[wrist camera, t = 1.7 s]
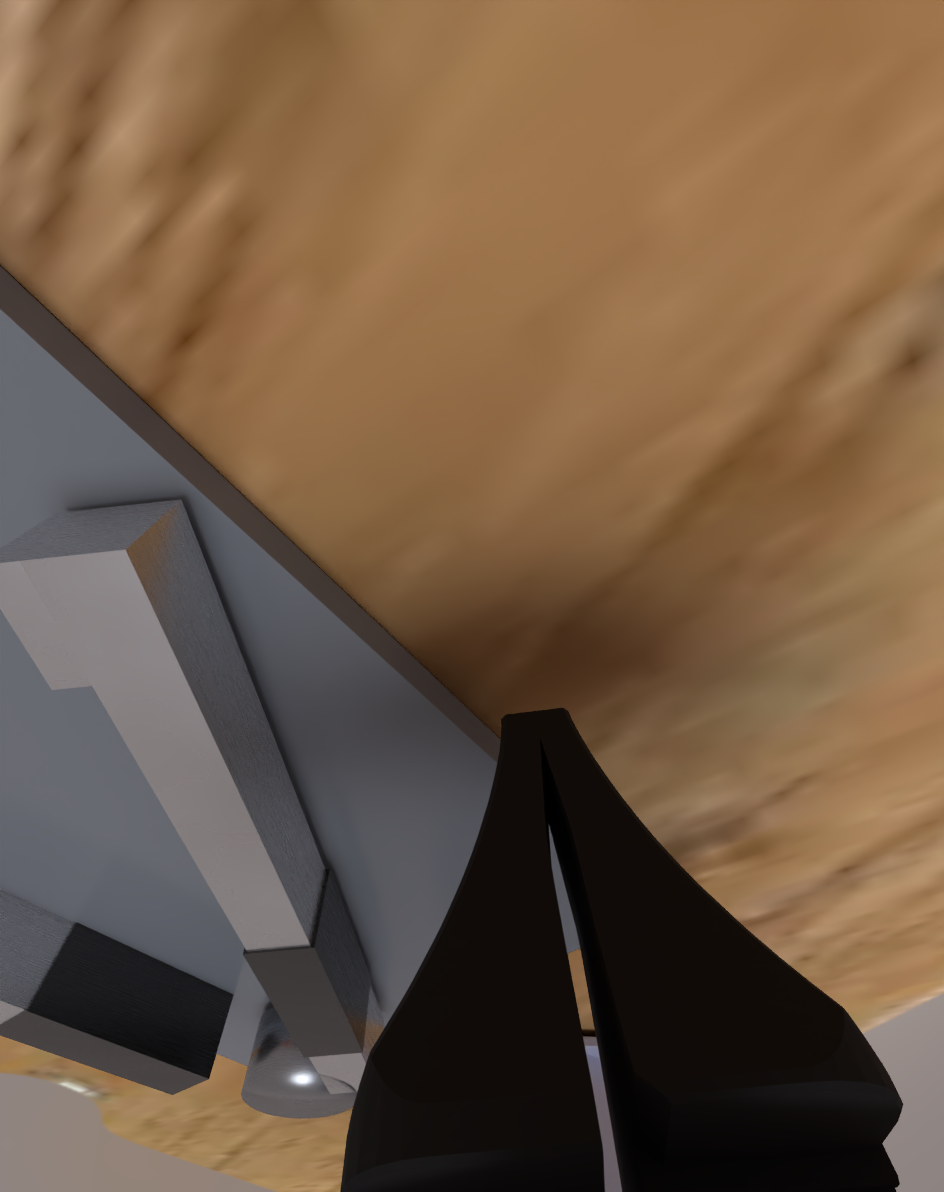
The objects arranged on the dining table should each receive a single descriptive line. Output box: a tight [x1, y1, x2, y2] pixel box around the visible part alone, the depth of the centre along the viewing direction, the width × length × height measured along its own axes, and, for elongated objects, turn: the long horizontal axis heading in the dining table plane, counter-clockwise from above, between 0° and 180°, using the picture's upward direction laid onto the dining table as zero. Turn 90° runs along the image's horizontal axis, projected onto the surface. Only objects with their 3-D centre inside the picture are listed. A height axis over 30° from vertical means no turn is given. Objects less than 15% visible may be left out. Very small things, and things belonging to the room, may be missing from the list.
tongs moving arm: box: [0, 500, 384, 1118], centre depth 15 cm, size 22×5×2 cm, turn 6°
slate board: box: [0, 266, 580, 1066], centre depth 16 cm, size 25×18×1 cm
